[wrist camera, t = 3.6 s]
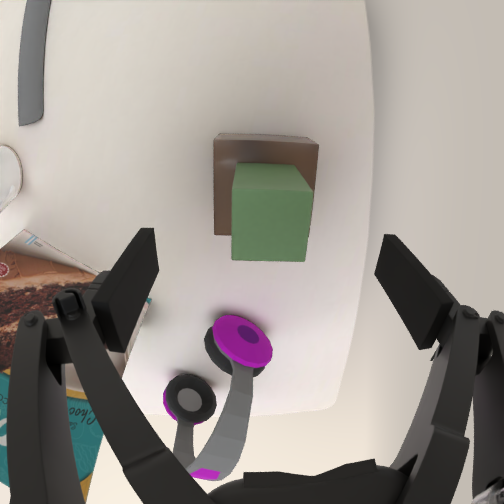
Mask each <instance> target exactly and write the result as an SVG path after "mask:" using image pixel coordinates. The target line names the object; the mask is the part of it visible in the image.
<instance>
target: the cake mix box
mask: <svg viewBox="0 0 504 504" xmlns="http://www.w3.org/2000/svg"><path fill="white" fill-rule="evenodd" d="M98 274H100V273H98V272H96V271H95V270H93V269H91V268H89V267H87V266H85V265H84V264H82V263H80V262H78V261H76V260H75V259H73V258H71V257H69V256H68V255H66V254H64V253H62V252H61V251H59V250H57V249H56V248H54V247H52V246H51V245H49V244H47V243H46V242H44V241H42V240H41V239H39V238H37V237H36V236H34V235H33V234H31V233H29V232H28V231H26V230H25V229H24V230H23V231H22V232H20V233H19V234H18V235H17V236H15V237H14V238H13V239H12V240H11V241H9V242H8V243H7V244H6V245H5V246H3V247H2V248H1V249H0V482H2V483H3V484H5V485H6V486H8V487H10V486H9V476H8V464H7V442H6V423H7V400H8V387H9V378H10V369H11V362H12V355H13V349H14V343H15V337H16V332H17V327H18V323H19V320H20V318H21V317H22V316H23V315H24V314H25V313H27V312H30V311H33V310H38V311H41V312H42V313H43V315H44V317H45V319H51V318H58V317H57V314H56V312H55V309H54V307H53V304H52V299H53V297H54V296H55V295H56V294H57V293H58V292H60V291H62V290H64V289H68V288H76V289H78V290H80V292H81V294H82V296H83V294H84V293H85V291H86V290H87V289H88V287H89V286H90V284H92V281H93V280H94V278H95V277H96V276H97V275H98ZM150 302H151V299H149V298H147V300H146V302H145V304H144V307H143V309H142V312H141V314H140V316H139V319H138V321H137V324H136V326H135V329H134V331H133V334H132V336H131V339H130V341H129V344H128V346H127V349H126V352H125V353H117V352H110V351H109V350H108V347H107V345H106V342H105V344H104V347H105V349H106V351H107V353H108V355H109V356H110V358H111V360H112V362H113V364H114V366H115V368H116V369H117V371H118V373H119V375H120V377H121V378H122V376H123V373H124V370H125V367H126V364H127V361H128V359H129V356H130V353H131V350H132V348H133V345H134V342H135V340H136V337H137V335H138V332H139V329H140V327H141V324H142V322H143V319H144V317H145V314H146V312H147V309H148V307H149V304H150ZM65 376H66V393H67V405H68V415H69V424H70V432H71V439H72V445H73V451H74V456H75V462H76V467H77V472H78V476H79V481H80V485H81V489H82V493H83V497H84V500H85V504H86V500H87V496H88V491H89V487H90V483H91V479H92V475H93V471H94V467H95V463H96V459H97V456H98V452H99V449H100V445H101V441H102V438H103V435H104V433H103V431H102V429H101V427H100V425H99V423H98V421H97V419H96V417H95V415H94V413H93V411H92V409H91V406H90V404H89V402H88V400H87V397H86V395H85V393H84V390H83V388H82V386H81V383H80V381H79V378H78V376H77V373H76V370H75V368H74V365H73V363H70V364H65Z"/></svg>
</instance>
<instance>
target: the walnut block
mask: <svg viewBox="0 0 504 504" xmlns="http://www.w3.org/2000/svg"><path fill="white" fill-rule="evenodd" d="M318 149H319V144H317V143H315V142H314V141H312V140H311V139H309V138H307V137H295V136H279V135H259V134H219V135H218V136H217V137H216V138H215V139H214V159H213V162H214V234H215V235H232V186H233V181H234V175H235V170H236V164H237V163H266V164H286V165H295V167H296V168H297V169H298V171H299V172H300V174H301V175H302V176H303V178H304V179H305V181H306V182H307V184H308V185H309V187H310V188H311V189H312V191H313V198H314V189H315V180H316V170H317V160H318ZM312 207H313V202H312ZM311 215H312V211H311ZM310 224H311V219H310ZM309 231H310V227H309ZM308 237H309V235H308Z"/></svg>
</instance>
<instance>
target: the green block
mask: <svg viewBox="0 0 504 504" xmlns="http://www.w3.org/2000/svg"><path fill="white" fill-rule="evenodd" d="M312 202H313V191H312V189H311V188H310V187H309V185H308V184H307V182H306V181H305V179H304V178H303V176H302V175H301V174H300V172H299V171H298V169H297V168H296V167H295V165H286V164H266V163H237V164H236V170H235V175H234V181H233V186H232V256H231V259H232V260H244V261H289V262H305V257H306V250H307V242H308V235H309V227H310V219H311V211H312Z"/></svg>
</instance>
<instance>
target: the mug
mask: <svg viewBox="0 0 504 504" xmlns="http://www.w3.org/2000/svg"><path fill="white" fill-rule="evenodd" d="M22 176H23V175H22V167H21V163H20V160H19V158H18V156H17V154H16V153H15V152H14V150H12V149H11V148H10V147H8V146H4V145H2V146H0V213H1V212H2V211H3V210H4V209H5V208H6V207H7V206H8V204H9V203H10V202H11V200H13V199H14V198H15V197H16V196H17V195H18V193H19V191H20V189H21V185H22Z"/></svg>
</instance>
